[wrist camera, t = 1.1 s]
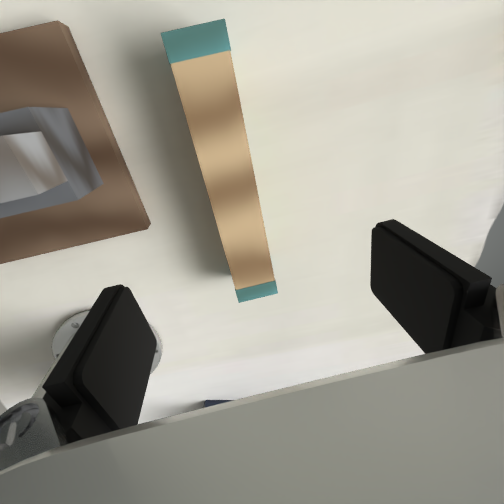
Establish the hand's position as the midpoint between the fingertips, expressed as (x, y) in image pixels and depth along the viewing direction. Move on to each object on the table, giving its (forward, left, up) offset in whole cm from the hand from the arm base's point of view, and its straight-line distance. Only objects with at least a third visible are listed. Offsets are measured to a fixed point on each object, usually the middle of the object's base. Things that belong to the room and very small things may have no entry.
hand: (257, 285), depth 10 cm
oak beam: (0, 0, -18) cm, 18 cm away
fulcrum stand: (-8, +16, -18) cm, 26 cm away
